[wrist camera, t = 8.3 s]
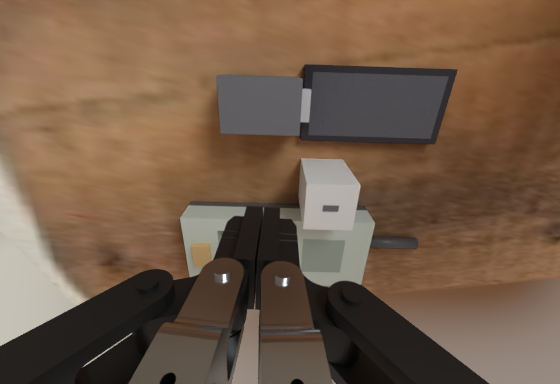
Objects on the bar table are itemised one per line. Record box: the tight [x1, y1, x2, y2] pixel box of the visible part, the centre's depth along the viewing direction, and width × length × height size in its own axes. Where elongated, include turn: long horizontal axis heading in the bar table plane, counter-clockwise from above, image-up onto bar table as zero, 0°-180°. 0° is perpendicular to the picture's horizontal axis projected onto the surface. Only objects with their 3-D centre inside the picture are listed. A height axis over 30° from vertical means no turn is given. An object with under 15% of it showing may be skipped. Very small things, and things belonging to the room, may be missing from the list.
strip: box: [180, 202, 418, 286], centre depth 26 cm, size 24×8×4 cm, turn 88°
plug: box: [216, 75, 311, 136], centre depth 20 cm, size 7×4×4 cm, turn 88°
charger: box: [298, 158, 361, 230], centre depth 22 cm, size 4×4×6 cm
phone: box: [300, 65, 457, 144], centre depth 22 cm, size 12×6×1 cm, turn 88°
